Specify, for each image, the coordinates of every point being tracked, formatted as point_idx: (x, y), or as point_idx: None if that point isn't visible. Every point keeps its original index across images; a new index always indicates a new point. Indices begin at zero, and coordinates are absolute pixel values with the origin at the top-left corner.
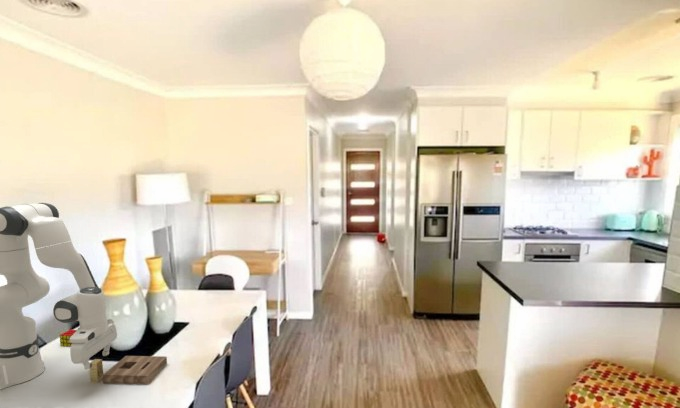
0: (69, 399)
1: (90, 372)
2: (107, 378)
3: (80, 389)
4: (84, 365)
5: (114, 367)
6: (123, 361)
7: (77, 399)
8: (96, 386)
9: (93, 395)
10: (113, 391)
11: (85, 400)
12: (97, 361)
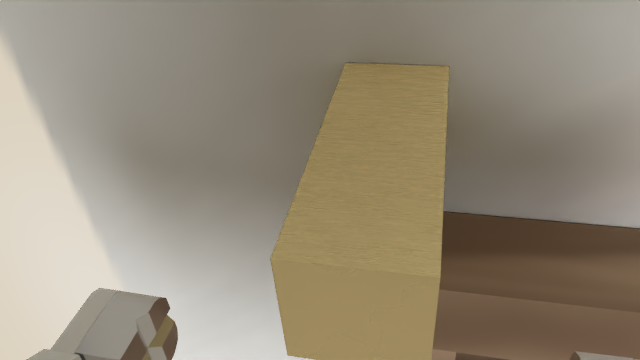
0: (48, 52)
1: (316, 150)
2: None
3: (204, 42)
4: (56, 343)
5: (486, 319)
6: (638, 354)
7: (81, 126)
8: (283, 170)
9: (167, 216)
10: (246, 314)
11: (99, 195)
12: (346, 346)
